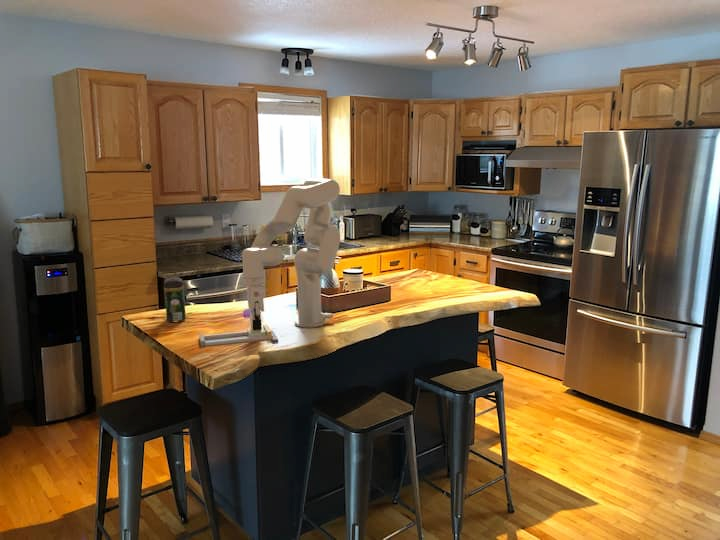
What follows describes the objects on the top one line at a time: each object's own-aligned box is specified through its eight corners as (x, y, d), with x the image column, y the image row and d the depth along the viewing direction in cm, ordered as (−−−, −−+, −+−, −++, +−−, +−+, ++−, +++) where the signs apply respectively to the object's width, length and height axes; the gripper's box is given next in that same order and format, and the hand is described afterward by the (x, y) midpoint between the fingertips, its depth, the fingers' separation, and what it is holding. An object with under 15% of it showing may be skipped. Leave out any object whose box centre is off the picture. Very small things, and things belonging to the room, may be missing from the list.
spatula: (262, 328, 241) (262, 322, 241) (245, 329, 240) (245, 323, 239) (258, 313, 264) (258, 308, 264) (243, 314, 263) (243, 309, 262)
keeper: (263, 333, 229) (262, 309, 227) (265, 337, 223) (264, 313, 221) (247, 334, 227) (246, 310, 225) (249, 339, 221) (248, 315, 219)
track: (272, 333, 233) (272, 323, 232) (278, 342, 221) (277, 331, 221) (199, 340, 224) (198, 330, 224) (201, 350, 213) (200, 339, 212)
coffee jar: (167, 317, 257) (164, 276, 254) (186, 316, 259) (183, 274, 256) (165, 323, 248) (162, 280, 245) (185, 322, 250) (182, 279, 247)
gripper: (267, 284, 214) (269, 332, 217) (260, 276, 230) (262, 320, 233) (246, 286, 211) (249, 335, 215) (241, 277, 227) (243, 322, 231)
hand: (256, 327), depth 224 cm, fingers open, 5 cm apart
